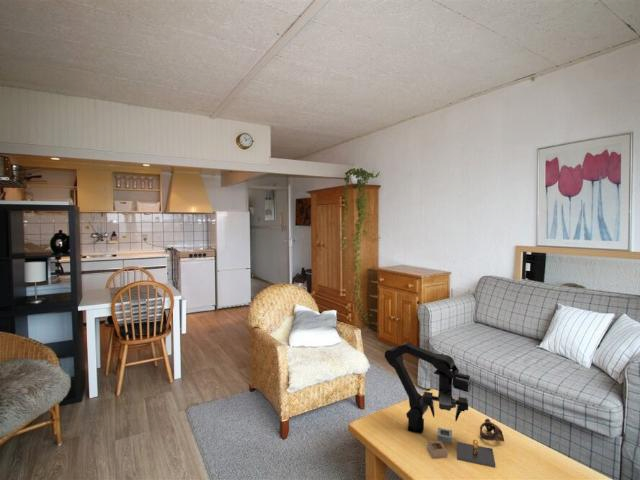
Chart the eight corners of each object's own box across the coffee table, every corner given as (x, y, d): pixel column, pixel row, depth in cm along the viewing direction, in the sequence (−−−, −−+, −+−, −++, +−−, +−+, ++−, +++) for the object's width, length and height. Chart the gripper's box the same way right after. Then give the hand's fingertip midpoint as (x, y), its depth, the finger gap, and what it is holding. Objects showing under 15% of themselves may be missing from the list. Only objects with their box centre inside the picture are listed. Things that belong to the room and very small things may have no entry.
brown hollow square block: (432, 458, 145) (433, 451, 145) (427, 448, 151) (427, 442, 151) (447, 457, 146) (447, 450, 146) (440, 447, 152) (440, 441, 152)
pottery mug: (509, 446, 153) (502, 433, 151) (488, 453, 155) (481, 440, 153) (497, 423, 164) (491, 411, 162) (478, 430, 166) (471, 418, 164)
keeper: (457, 459, 145) (457, 445, 144) (456, 444, 154) (457, 430, 153) (495, 467, 140) (495, 452, 139) (492, 451, 149) (492, 437, 149)
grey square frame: (437, 441, 156) (437, 435, 155) (437, 433, 161) (437, 427, 161) (452, 444, 154) (452, 438, 153) (451, 436, 159) (451, 430, 159)
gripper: (422, 390, 151) (421, 425, 152) (469, 397, 145) (468, 434, 146) (423, 378, 162) (423, 411, 163) (467, 385, 155) (467, 419, 157)
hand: (444, 419), depth 157 cm, fingers open, 9 cm apart
